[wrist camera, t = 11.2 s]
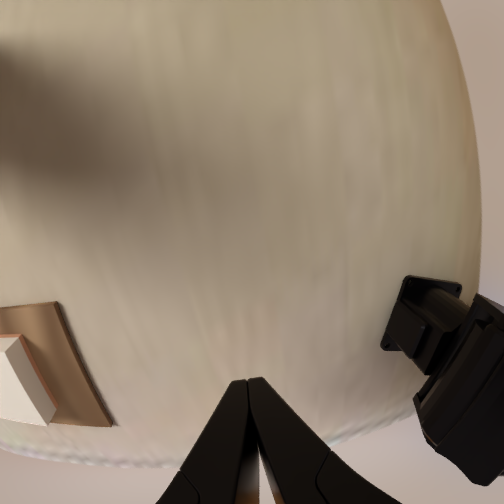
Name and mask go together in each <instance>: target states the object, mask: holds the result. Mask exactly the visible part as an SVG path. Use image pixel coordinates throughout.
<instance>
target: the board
mask: <svg viewBox="0 0 504 504" xmlns="http://www.w3.org/2000/svg"><path fill="white" fill-rule="evenodd" d="M3 334H22V336H23V338H24V340H25V342H26V344H27V347H28V349H29V351H30V353H31V355H32V357H33V359H34V361H35V363H36V365H37V367H38V369H39V371H40V373H41V375H42V377H43V379H44V381H45V382H46V384H47V386H48V388H49V390H50V391H51V393H52V395H53V397H54V398H55V400H56V402H57V403H58V405H59V406H58V408H57V410H56V411H55V413H54V415H53V417H52V419H51V421H50V423H59V424H69V425H80V426H95V427H112V424H113V422H112V421H111V419H110V417H109V415H108V414H107V412H106V410H105V408H104V406H103V405H102V403H101V401H100V399H99V397H98V395H97V393H96V391H95V389H94V387H93V386H92V384H91V382H90V379H89V377H88V375H87V373H86V371H85V369H84V367H83V365H82V363H81V360H80V358H79V356H78V354H77V352H76V349H75V347H74V345H73V342H72V340H71V337H70V335H69V333H68V330H67V328H66V325H65V323H64V320H63V317H62V315H61V312H60V309H59V307H58V304H57V301H55V302H47V303H38V304H29V305H20V306H11V307H2V308H0V335H3Z"/></svg>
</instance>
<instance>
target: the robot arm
mask: <svg viewBox="0 0 504 504" xmlns="http://www.w3.org/2000/svg"><path fill="white" fill-rule="evenodd" d="M410 280H411V282H410V283H409V284H408V282H409V281H410ZM456 288H457V289H456ZM461 290H462V286H461V284H459V283H457V282H451V281H445V280H438V279H432V278H425V277H419V276H412V275H408V276H406V277H405V278H404V280H403V283H402V286H401V289H400V292H399V295H398V298H397V301H396V303H395V306H394V308H393V311H392V314H391V317H390V319H389V322H388V325H387V327H386V331H385V333H384V336H383V338H382V341H381V344H380V346H381V348H382V349H383V350H384V351H403V352H404V353H405V355H406V356H407V357H408V358H409V359H412V361H413V362H414V363H415V364H416V365H417V367H418V368H419V369H420V370H421V371H422V373H423V374H424V375H429V376H430V377H429V378H428V380H427V381H426V382H425V384H424V385H423V387H422V388H421V390H420V391H419V392H417V393H416V395H415V396H414V397H413V402H414V405H415V408H416V411H417V415H418V418H419V421H420V425H421V429H422V432H423V435H424V437H425V439H426V442H427V443H428V444H429V445H430V446H431V447H432V448H433V449H434V450H435V452H437V453H439V454H440V455H442V456H444V457H446V458H447V459H448V460H450V461H451V462H452V463H454V464H455V465H456V466H457V467H458V468H459V469H460V470H461V471H462V472H463V473H464V474H465V475H466V477H467V478H468V479H469V480H470V481H471V482H472V483H474V484H478V485H482V486H488V485H490V484H491V483H492V482H493V481H494V480H495V479H496V478H497V477H498V476H504V306H502V305H500V304H498V303H496V302H494V301H492V300H490V299H488V298H486V297H484V296H482V295H480V294H478V293H476V295H475V297H474V299H473V303H472V305H471V307H469V306H468V305H466V304H465V303H464V302H462V301H461V300H459V299H458V298H459V296H460V293H461ZM387 343H388V344H387ZM386 344H387V345H386ZM385 345H386V346H385ZM258 448H259V449H258ZM259 452H260V456H261V460H262V462H263V466H264V469H265V472H266V475H267V478H268V482H269V485H270V488H271V491H272V494H273V497H274V500H275V503H276V504H402V503H400V502H399V501H397V500H396V499H394V498H392V497H391V496H389V495H388V494H386V493H385V492H383V491H382V490H380V489H378V488H377V487H375V486H374V485H373V484H371V483H370V482H368V481H367V480H366V479H364V478H363V477H362V476H360V475H359V474H358V473H356V472H355V471H354V470H353V469H352V468H350V467H349V466H348V465H347V464H346V463H345V462H344V461H343V460H342V459H341V458H340V457H339V456H338V455H337V454H335V452H333V451H331V449H330V448H329V447H328V446H327V445H326V444H325V443H324V442H323V441H322V440H321V439H320V438H319V437H318V436H317V435H316V434H315V433H314V431H313V430H312V429H311V428H310V427H309V426H308V425H307V424H306V423H305V422H304V421H303V420H302V419H301V418H300V417H299V416H298V415H297V414H296V413H295V412H294V410H293V409H292V408H291V407H290V406H289V405H288V404H287V403H286V402H285V401H284V400H283V399H282V398H281V396H280V395H279V394H278V393H277V392H276V391H275V390H274V389H273V388H272V387H271V385H270V384H269V383H268V382H267V381H266V380H265V379H264V378H263V377H256V378H250V379H248V381H247V380H245V379H242V380H235V381H232V382H231V383H230V384H229V386H228V388H227V390H226V392H225V393H224V395H223V397H222V399H221V400H220V402H219V404H218V405H217V407H216V409H215V411H214V412H213V414H212V416H211V417H210V419H209V421H208V423H207V424H206V426H205V428H204V429H203V431H202V433H201V434H200V436H199V438H198V439H197V441H196V443H195V444H194V446H193V448H192V449H191V451H190V453H189V454H188V456H187V458H186V459H185V461H184V463H183V464H182V466H181V467H180V471H178V472H177V474H176V475H175V477H174V478H173V480H172V482H171V483H170V485H169V486H168V488H167V489H166V491H165V492H164V493H163V495H162V496H161V498H160V499H159V500H158V501H157V502H156V504H259Z"/></svg>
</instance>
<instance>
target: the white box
mask: <svg viewBox="0 0 504 504" xmlns="http://www.w3.org/2000/svg"><path fill="white" fill-rule="evenodd" d="M58 406H59V405H58V403H57V402H56V400H55V398H54V397H53V395H52V393H51V391H50V390H49V388H48V386H47V384H46V382H45V381H44V379H43V377H42V375H41V373H40V371H39V369H38V367H37V365H36V363H35V361H34V359H33V357H32V355H31V353H30V351H29V349H28V347H27V344H26V342H25V340H24V338H23V336H22V334H3V335H0V418H2V419H7V420H12V421H17V422H23V423H29V424H35V425H42V426H48V425H49V423H50V421H51V419H52V417H53V415H54V413H55V411H56V410H57V408H58Z"/></svg>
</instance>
